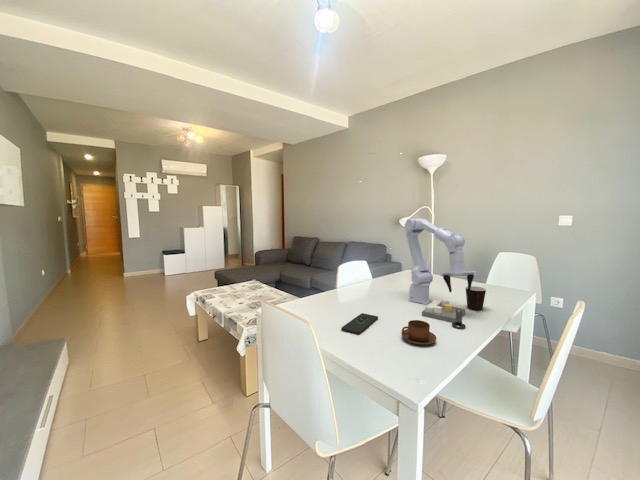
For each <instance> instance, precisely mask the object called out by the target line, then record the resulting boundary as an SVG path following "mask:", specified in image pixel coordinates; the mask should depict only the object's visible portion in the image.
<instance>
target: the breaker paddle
mask: <svg viewBox="0 0 640 480" xmlns="http://www.w3.org/2000/svg"><path fill="white" fill-rule="evenodd" d="M453 307H454V306H453V304H449V305H448V304H445V305H444V311H448V312H452V311H453Z"/></svg>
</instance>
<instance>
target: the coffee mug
mask: <svg viewBox="0 0 640 480" xmlns="http://www.w3.org/2000/svg"><path fill="white" fill-rule="evenodd" d="M486 292H487V288H484V287H481V286H476V285H475V286H473V285H471V292H468V285H467V286H465V295H466V296H465V297H466V306H467V307H466V309H468V310H469V311H473V310H474V312H481V310H482V311H483V309H484V308H483V307H484V303H485V297H486Z"/></svg>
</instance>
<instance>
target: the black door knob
mask: <svg viewBox="0 0 640 480" xmlns="http://www.w3.org/2000/svg"><path fill="white" fill-rule="evenodd" d="M462 311H463V310H461V309H456V320H455V323H451V328H454V329H457V330H465V329H466V324H464V323H463V316H462Z"/></svg>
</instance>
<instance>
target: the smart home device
mask: <svg viewBox="0 0 640 480" xmlns="http://www.w3.org/2000/svg"><path fill="white" fill-rule="evenodd" d="M378 320H379V316H378V315H373V314H368V313H364V312H362V313H359V314H358V315H357V316H356V317H354V318H353V319H352V320H350V321H348V322H347V323H346V324H344V325H343V326H341V329H340V330H341V332H344V333H348V334H352V335H357V336H360V335H361V334H363V333H364V332H365V331H366V330H367V329H368V328H370V327H371V326H373V324H374V323H376V322H377V321H378Z"/></svg>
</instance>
